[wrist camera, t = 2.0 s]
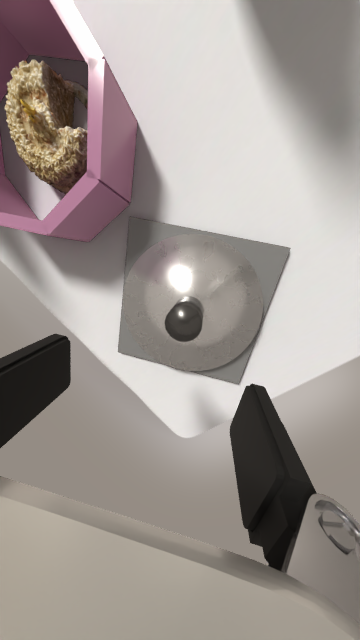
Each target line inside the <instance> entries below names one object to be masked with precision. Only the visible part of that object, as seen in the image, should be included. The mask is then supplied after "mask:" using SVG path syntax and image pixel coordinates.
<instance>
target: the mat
mask: <svg viewBox="0 0 360 640" xmlns="http://www.w3.org/2000/svg"><path fill="white" fill-rule="evenodd" d="M183 234H200V235H207V236H210V237H214V238H217V239H219V240H222V241H224V242H226V243H228V244H229V245H231V246H232V247H234V248H235V249H236V250H238V251H239V252H240V253H241V254H242V255H243V256H244V257H245V258H246V259H247V260H248V261H249V263H250V264H251V266H252V267H253V269H254V270H255V272H256V275H257V277H258V279H259V282H260V285H261V289H262V295H263V313H262V319H261V322H260V326H259V328H258V331H257V333H256V335H255V337H254V338H253V340H252V341H251V343H250V344H249V345H248V347H247V348H246V349H245V350H244V351H243V352H242V353H241V354H240V355H239V356H237V357H236V358H234V359H233V360H232V361H230V362H228V363H226V364H224V365H222V366H219V367H217V368H213V369H209V370H202V371H191V372H195V373H198V374H202V375H206V376H210V377H214V378H217V379H221V380H225V381H229V382H232V383H236V384H239V382H240V379H241V376H242V374H243V371H244V369H245V366H246V363H247V361H248V358H249V356H250V353H251V350H252V348H253V345H254V342H255V340H256V337H257V335H258V332H259V329H260V327H261V324H262V322H263V319H264V316H265V314H266V311H267V308H268V306H269V303H270V301H271V298H272V295H273V293H274V290H275V288H276V285H277V282H278V280H279V277H280V274H281V272H282V269H283V267H284V264H285V261H286V259H287V256H288V253H289V251H290V248H288V247H283V246H278V245H273V244H268V243H263V242H258V241H253V240H248V239H242V238H237V237H232V236H227V235H222V234H217V233H212V232H207V231H201V230H196V229H191V228H186V227H181V226H176V225H171V224H166V223H161V222H155V221H150V220H145V219H140V218H135V217H130V218H129V230H128V241H127V253H126V264H125V276H124V286H125V283H126V279H127V277H128V275H129V272H130V270H131V268H132V267H133V265H134V264H135V262H136V261H137V260H138V258H139V257H140V256H141V255H142V254H143V253H144V252H145V251H146V250H147V249H149V248H150V247H152V246H153V245H155V244H156V243H158V242H160V241H162V240H164V239H167V238H170V237H173V236H177V235H183ZM123 292H124V287H123ZM118 352H119V353H123V354H127V355H131V356H134V357H138V358H142V359H146V360H150V361H153V362H157V363H160V362H159V361H157V360H155V359H154V358H152V357H151V356H150V355H148V354H147V353H146V352H145V351H144V350H143V349H142V348H141V347H140V346H139V344H138V343H137V342H136V341H135V339H134V338H133V336H132V334H131V332H130V330H129V328H128V326H127V323H126V320H125V316H124V310H123V299H122V310H121V322H120V333H119V344H118ZM161 364H162V363H161Z"/></svg>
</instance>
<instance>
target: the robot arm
mask: <svg viewBox="0 0 360 640" xmlns="http://www.w3.org/2000/svg"><path fill="white" fill-rule="evenodd" d="M69 385H70V341H69V340H68V338H67V337H66V336H62V335H58V334H53V335H51V336H48V337H46V338H44V339H42V340H40V341H37V342H35V343H33V344H31V345H29V346H27V347H24V348H22V349H20V350H18V351H15V352H13V353H11V354H9V355H7V356H5V357H2V358H0V448H1V447H2V446H3V445H5V444H6V443H7V442H8V441H9V440H10V439H11V438H12V437H13V436H14V435H16V434H17V433H18V432H19V431H20V430H21V429H22V428H24V427H25V426H26V425H27V424H28V423H29V422H30V421H31V420H32V419H34V418H35V417H36V416H37V415H38V414H39V413H40V412H41V411H42V410H44V409H45V408H46V407H47V406H48V405H49V404H50V403H51V402H53V400H55V399H56V398H57V397H58V396H59V395H60V394H61V393H63V392H64V391H65V390H66V389H67V388H68V386H69ZM230 438H231V445H232V451H233V458H234V465H235V472H236V478H237V485H238V493H239V500H240V507H241V514H242V520H243V525H244V527H245V528H246V529H248V532H249V538H250V543H252V544H255V545H259V546H262V547H263V552H264V557H265V559H266V561H267V562H266V564H265V565H264V564H262V563H259V562H257V561H255V560H252V559H249V558H246V557H244V556H241V555H238V554H235V553H232V552H229V551H227V550H224V549H221V548H218V547H215V546H212V545H210V544H207V543H204V542H201V541H198V540H195V539H192V538H189V537H186V536H183V535H180V534H177V533H174V532H171V531H168V530H165V529H162V528H159V527H156V526H153V525H150V524H147V523H144V522H141V521H138V520H135V519H132V518H129V517H125V516H122V515H119V514H116V513H113V512H110V511H107V510H104V509H101V508H98V507H95V506H92V505H89V504H86V503H82V502H79V501H76V500H73V499H70V498H67V497H64V496H61V495H58V494H54V493H51V492H48V491H45V490H42V489H39V488H36V487H33V486H29V485H27V484H24V483H20V482H17V481H14V480H11V479H8V478H4V477H1V476H0V640H360V524H359V523H358V522H357V521H356V519H355V518H354V517H353V516H352V515H351V514H350V513H349V512H348V511H347V510H346V509H345V508H344V507H343V506H342V505H340V504H339V503H338V502H336V501H335V500H334V499H332V498H330V497H328V496H326V495H323V494H317V493H316V491H315V489H314V487H313V485H312V483H311V481H310V479H309V477H308V475H307V473H306V470H305V469H304V466H303V464H302V462H301V460H300V458H299V456H298V454H297V452H296V450H295V448H294V446H293V444H292V442H291V440H290V437H289V435H288V433H287V431H286V429H285V427H284V425H283V424H282V422H281V420H280V418H279V416H278V414H277V412H276V410H275V408H274V406H273V404H272V401H271V399H270V397H269V395H268V393H267V391H266V389H265V387H263V386H259V385H255V384H251V385H250V386H246V388H245V390H244V393H243V395H242V398H241V400H240V403H239V405H238V408H237V411H236V413H235V416H234V418H233V421H232V423H231V426H230Z"/></svg>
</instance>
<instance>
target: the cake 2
mask: <svg viewBox="0 0 360 640" xmlns="http://www.w3.org/2000/svg"><path fill="white" fill-rule="evenodd" d="M11 75H12V77H13V79H12V80H10V82H7V86H8V88H7V90H8V95H6V98H7V100H8V101H6V105H5V110H6V116H7V120H6V121H7V123H8V128H9V129H10V134H11V138H12V140H13V141H14V142H15V145H16V150H17V152H18V154H19V156H20V158H22V160H23V161H24V162H25V163H26V165H27V166H28V168H29V170H30V171H31V172H35V175H36V176H38V177H39V178H40V179H41V180H43V181H45V182H47V184H50V185H52V186H53V187H55V188H56V189H58V190H60V192H63V193H65V194H67V193H68V192H69V191H70V190H71V189H72V188H73V186H74V185H75V184H76V183H77V182H78V181H79V180H80V179H81V178H82V176H83V175H84V174H85V173H86V172H87V130H85V129H83V128H81V127H78V128H77V129H72V128H73V112H74V111H73V108H74V99H75V97H77V98H78V99H79V100H80V101H81V102H82V103H83V104H84V105H85V107H86V108H87V109H88V90H86V88H84V86H83V85H80V84H79V83H77V82H72V81H70V80H65V81H64V80H63V78H62V76H61V73H60V74H59V75H57V73H56V72H55V71H53V70H52V69H51V68H50V66H49V65H48V64H46V63H45V62H44V61H41V62H39V63H38V62H37V61H36V60H34V59H33V60H31V62H30V63H29V64H28V63H27V61H26V60H25V62H24V61H22V62H19V68H18V67H17V66H16V68H15V67H14V68H13V69H12V71H11Z"/></svg>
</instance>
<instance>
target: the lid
mask: <svg viewBox="0 0 360 640" xmlns="http://www.w3.org/2000/svg"><path fill="white" fill-rule="evenodd" d="M123 310H124V316H125V320H126V323H127V326H128V328H129V330H130V332H131V334H132V336H133V338H134V339H135V341H136V342H137V343H138V344H139V346H140V347H141V348H142V349H143V350H144V351H145V352H146V353H147V354H148V355H150V356H151V357H152V358H154V359H155V360H157V361H159V362H160V363H162V364H165V365H167V366H169V367H172V368H176V369H180V370H187V371H202V370H209V369H213V368H217V367H219V366H222V365H224V364H226V363H228V362H230V361H232V360H233V359H234V358H236V357H237V356H239V355H240V354H241V353H242V352H243V351H244V350H245V349H246V348H247V347H248V345H249V344H250V343H251V341H252V340H253V338H254V337H255V335H256V333H257V331H258V328H259V326H260V322H261V319H262V313H263V295H262V289H261V285H260V282H259V279H258V277H257V275H256V272H255V270H254V269H253V267H252V266H251V264H250V263H249V261H248V260H247V259H246V258H245V257H244V256H243V255H242V254H241V253H240V252H239V251H238V250H236V249H235V248H234V247H232V246H231V245H229V244H228V243H226V242H224V241H222V240H219V239H217V238H214V237H210V236H207V235H200V234H183V235H177V236H173V237H170V238H167V239H164V240H162V241H160V242H158V243H156V244H155V245H153V246H152V247H150V248H149V249H147V250H146V251H145V252H144V253H143V254H142V255H141V256H140V257H139V258H138V260H137V261H136V262H135V264H134V265H133V267H132V268H131V270H130V272H129V275H128V277H127V279H126V283H125V286H124V292H123Z"/></svg>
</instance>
